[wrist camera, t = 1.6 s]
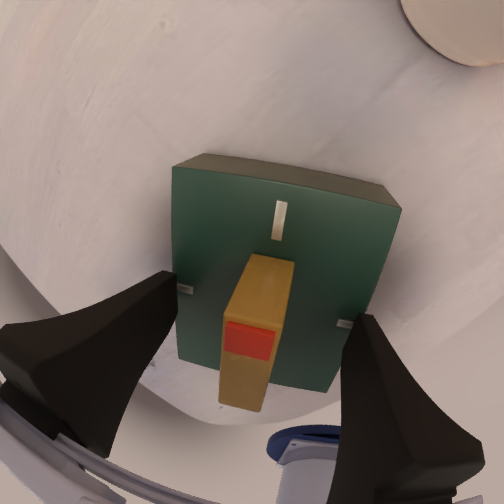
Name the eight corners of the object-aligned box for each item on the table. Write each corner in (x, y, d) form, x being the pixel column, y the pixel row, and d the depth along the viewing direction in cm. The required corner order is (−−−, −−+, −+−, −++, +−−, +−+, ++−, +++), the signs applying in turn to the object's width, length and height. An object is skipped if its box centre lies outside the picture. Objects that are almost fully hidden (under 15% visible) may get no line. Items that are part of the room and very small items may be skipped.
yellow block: (274, 349, 12) (258, 419, 9) (240, 341, 13) (215, 408, 9) (295, 260, 10) (281, 333, 7) (251, 252, 10) (219, 318, 7)
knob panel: (334, 354, 16) (333, 396, 13) (191, 322, 17) (170, 358, 14) (392, 188, 11) (414, 213, 8) (194, 152, 12) (159, 166, 10)
